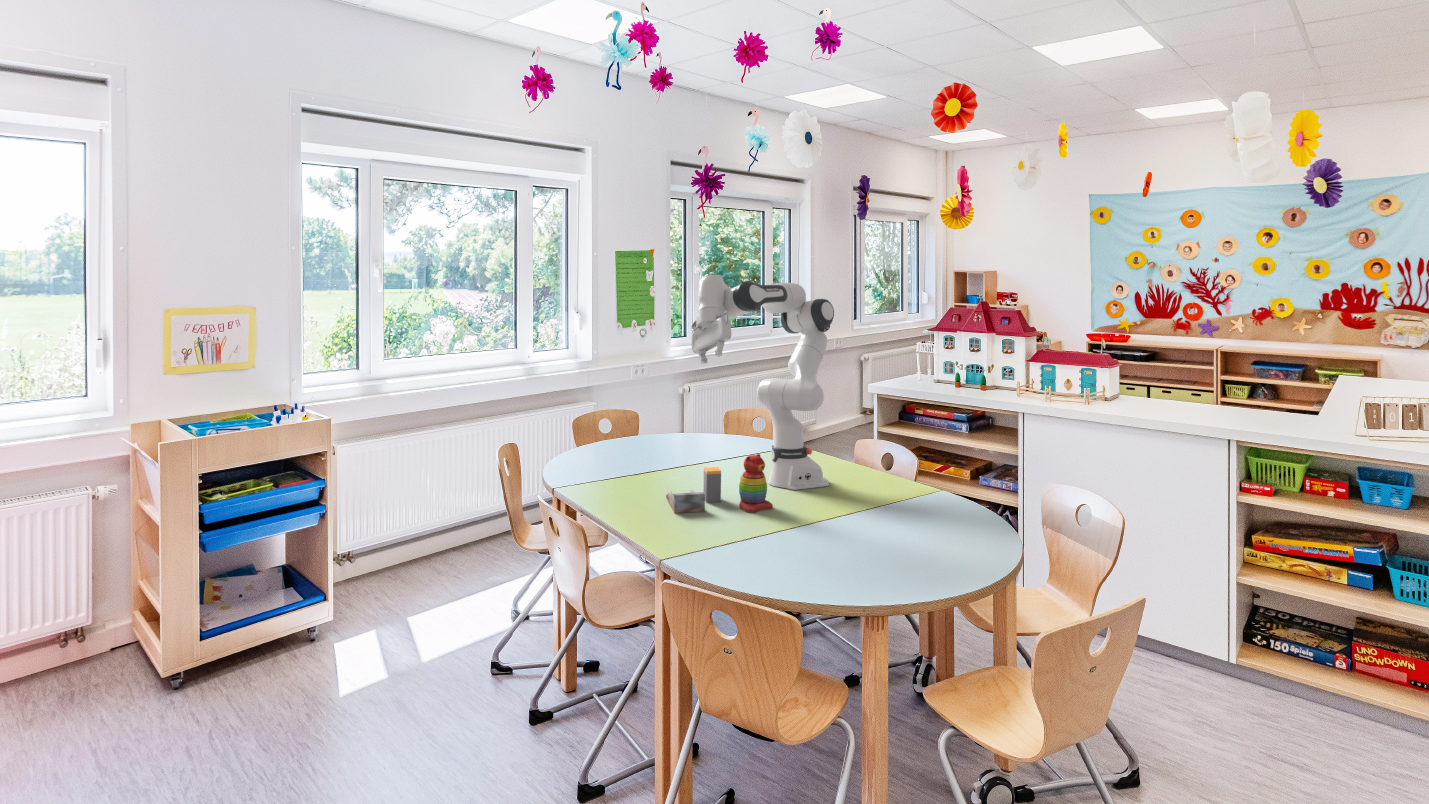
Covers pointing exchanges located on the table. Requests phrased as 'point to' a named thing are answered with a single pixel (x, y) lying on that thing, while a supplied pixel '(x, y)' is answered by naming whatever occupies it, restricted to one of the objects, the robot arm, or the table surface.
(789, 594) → the table surface
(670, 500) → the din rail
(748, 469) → the stacking bear
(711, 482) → the grey tall block
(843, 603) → the table surface
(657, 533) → the table surface
